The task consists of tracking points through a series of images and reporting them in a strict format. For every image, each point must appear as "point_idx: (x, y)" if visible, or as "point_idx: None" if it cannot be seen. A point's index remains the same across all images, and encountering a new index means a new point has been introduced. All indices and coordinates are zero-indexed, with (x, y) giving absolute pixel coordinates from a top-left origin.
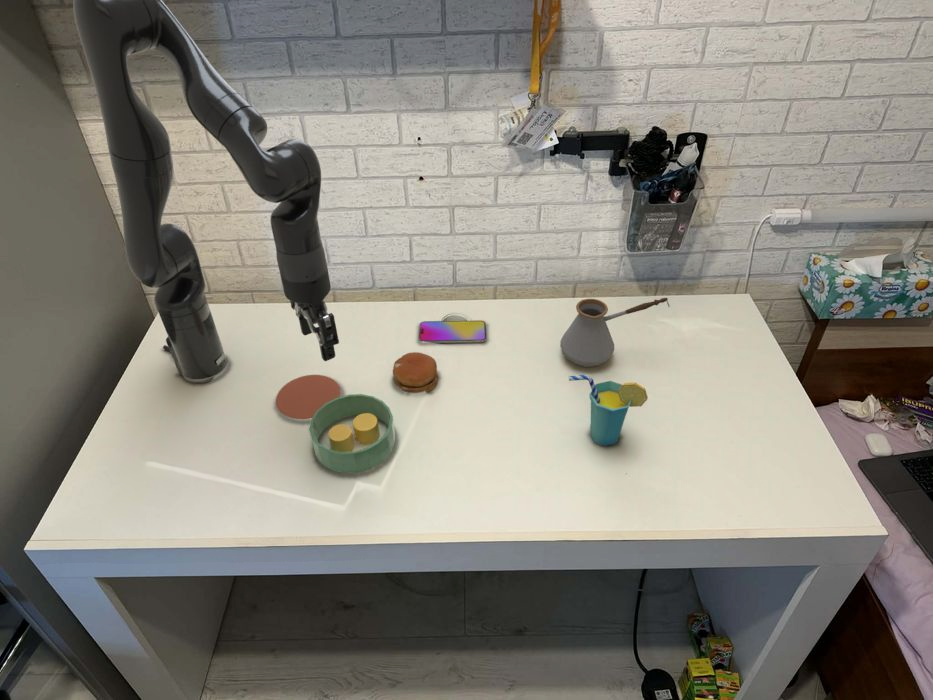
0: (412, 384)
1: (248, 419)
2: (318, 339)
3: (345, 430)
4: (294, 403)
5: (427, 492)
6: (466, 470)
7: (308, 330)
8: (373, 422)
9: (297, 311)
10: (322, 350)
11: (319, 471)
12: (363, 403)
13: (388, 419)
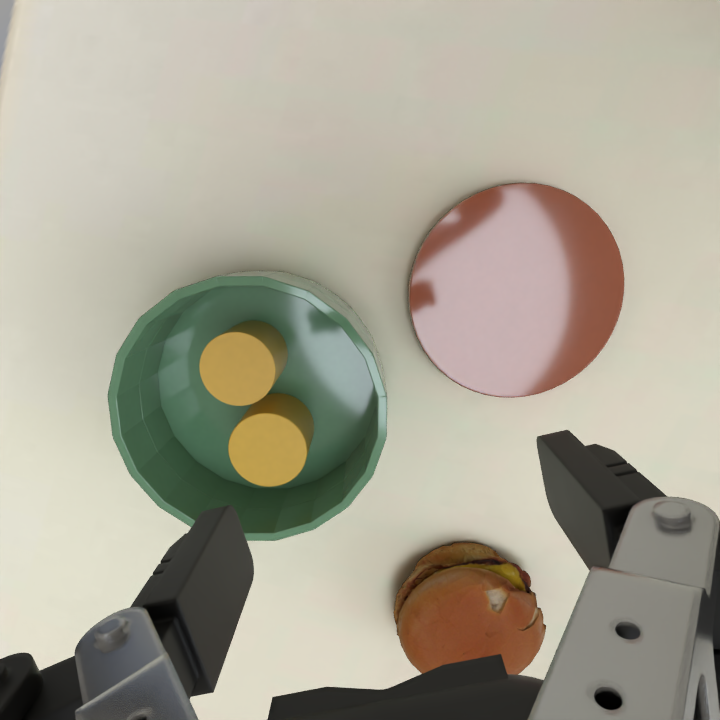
0: (406, 603)
1: (504, 79)
2: (127, 644)
3: (239, 387)
4: (500, 244)
5: (55, 512)
6: (99, 611)
7: (554, 484)
8: (255, 473)
9: (580, 631)
10: (171, 569)
11: (201, 270)
12: (361, 461)
13: (279, 508)
